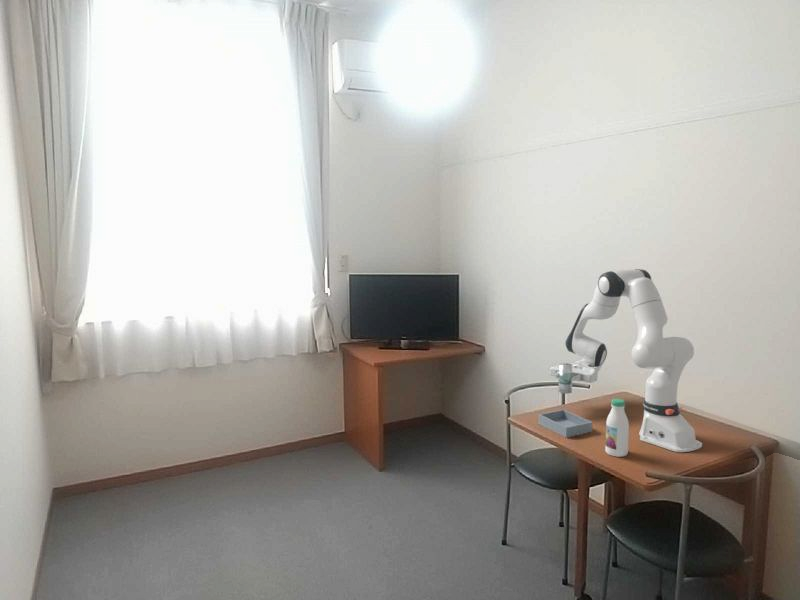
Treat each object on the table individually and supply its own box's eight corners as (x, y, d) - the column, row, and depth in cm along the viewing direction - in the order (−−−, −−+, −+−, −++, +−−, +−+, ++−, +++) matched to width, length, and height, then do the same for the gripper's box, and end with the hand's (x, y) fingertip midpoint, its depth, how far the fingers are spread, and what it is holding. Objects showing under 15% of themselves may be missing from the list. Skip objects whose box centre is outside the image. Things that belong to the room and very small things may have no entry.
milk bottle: (624, 448, 206) (626, 396, 203) (630, 457, 199) (632, 403, 196) (602, 448, 207) (604, 396, 204) (608, 457, 200) (610, 403, 197)
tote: (592, 431, 223) (592, 422, 223) (566, 437, 218) (566, 427, 217) (563, 418, 239) (563, 409, 238) (538, 423, 233) (538, 414, 233)
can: (574, 392, 241) (575, 365, 240) (564, 394, 239) (564, 367, 237) (565, 388, 247) (566, 362, 245) (555, 390, 244) (555, 364, 243)
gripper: (558, 360, 258) (542, 366, 248) (600, 367, 244) (586, 374, 234) (558, 373, 259) (542, 380, 249) (600, 381, 245) (586, 388, 235)
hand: (564, 377), depth 241 cm, fingers closed on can, 6 cm apart
